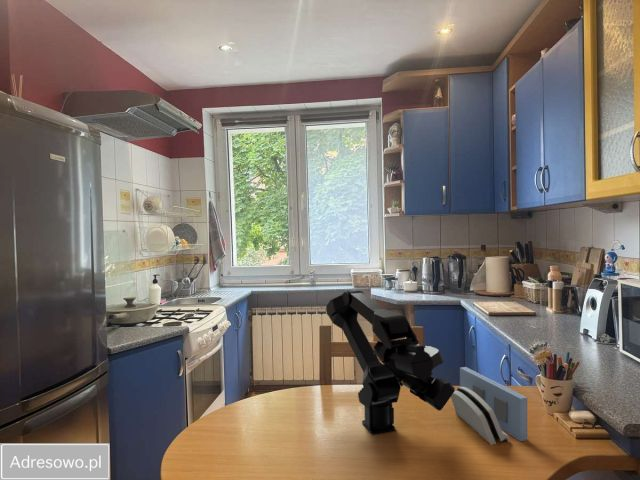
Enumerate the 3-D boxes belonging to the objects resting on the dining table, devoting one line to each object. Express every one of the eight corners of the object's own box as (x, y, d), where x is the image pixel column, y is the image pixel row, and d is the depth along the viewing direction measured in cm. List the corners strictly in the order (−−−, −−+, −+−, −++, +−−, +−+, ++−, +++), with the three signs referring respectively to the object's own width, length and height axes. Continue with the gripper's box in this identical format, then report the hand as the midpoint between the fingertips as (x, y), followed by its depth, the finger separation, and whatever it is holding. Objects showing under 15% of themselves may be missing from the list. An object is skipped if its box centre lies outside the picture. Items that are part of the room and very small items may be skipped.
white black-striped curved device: (511, 443, 91) (498, 404, 90) (493, 452, 90) (480, 412, 90) (472, 410, 108) (460, 377, 107) (457, 418, 107) (445, 384, 106)
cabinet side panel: (518, 441, 92) (518, 399, 91) (458, 402, 113) (458, 367, 112) (527, 439, 92) (527, 397, 92) (465, 401, 113) (465, 366, 113)
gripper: (446, 347, 87) (487, 390, 90) (401, 329, 104) (437, 366, 108) (416, 388, 84) (460, 431, 88) (375, 363, 101) (413, 399, 105)
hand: (441, 403), depth 97 cm, fingers closed
